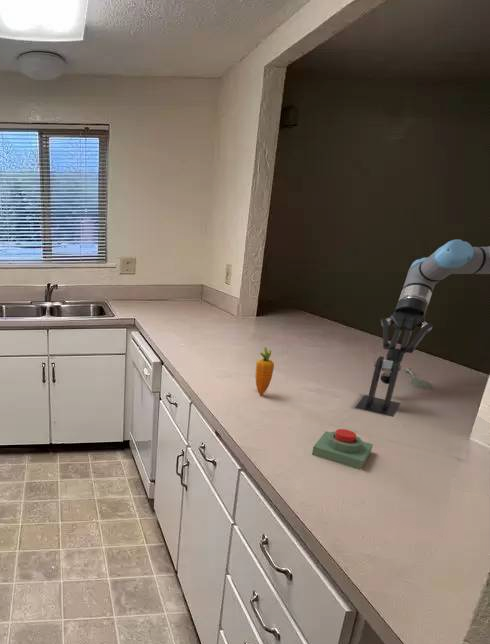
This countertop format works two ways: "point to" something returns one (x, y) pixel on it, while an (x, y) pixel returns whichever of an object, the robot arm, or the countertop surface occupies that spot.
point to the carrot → (264, 372)
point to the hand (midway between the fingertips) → (390, 369)
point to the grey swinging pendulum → (387, 371)
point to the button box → (342, 450)
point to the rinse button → (345, 436)
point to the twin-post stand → (386, 405)
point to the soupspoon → (417, 381)
